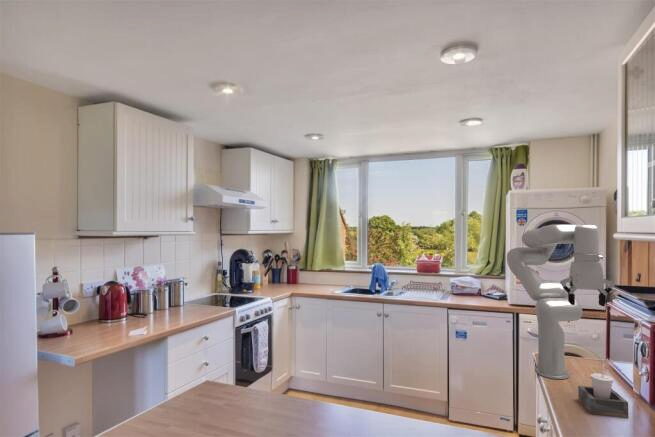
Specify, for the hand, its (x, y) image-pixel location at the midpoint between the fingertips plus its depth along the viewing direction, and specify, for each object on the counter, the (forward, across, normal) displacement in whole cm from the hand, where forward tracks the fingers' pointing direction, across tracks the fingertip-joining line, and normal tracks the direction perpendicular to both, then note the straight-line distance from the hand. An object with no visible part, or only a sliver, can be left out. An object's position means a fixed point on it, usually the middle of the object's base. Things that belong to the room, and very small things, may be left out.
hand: (586, 304), depth 139 cm
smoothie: (+32, -1, +9) cm, 34 cm away
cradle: (+33, -1, +10) cm, 35 cm away
